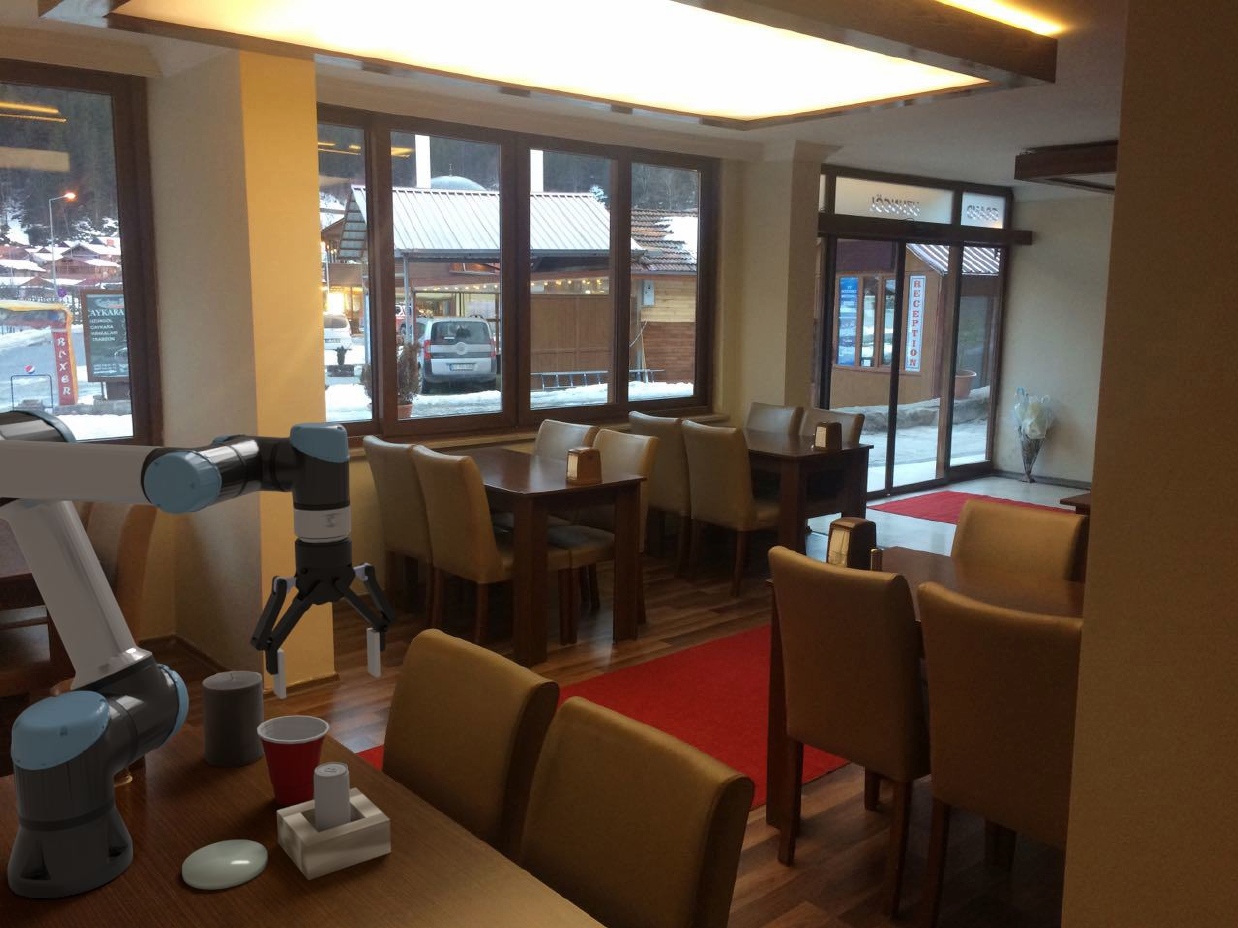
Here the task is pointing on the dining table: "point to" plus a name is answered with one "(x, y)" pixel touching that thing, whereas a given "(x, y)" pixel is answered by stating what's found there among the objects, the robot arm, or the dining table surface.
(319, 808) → the beverage can
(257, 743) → the pillar candle
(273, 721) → the plastic cup
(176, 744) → the dining table surface
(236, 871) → the pale green cabochon
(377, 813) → the birch sleeve
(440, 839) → the dining table surface
